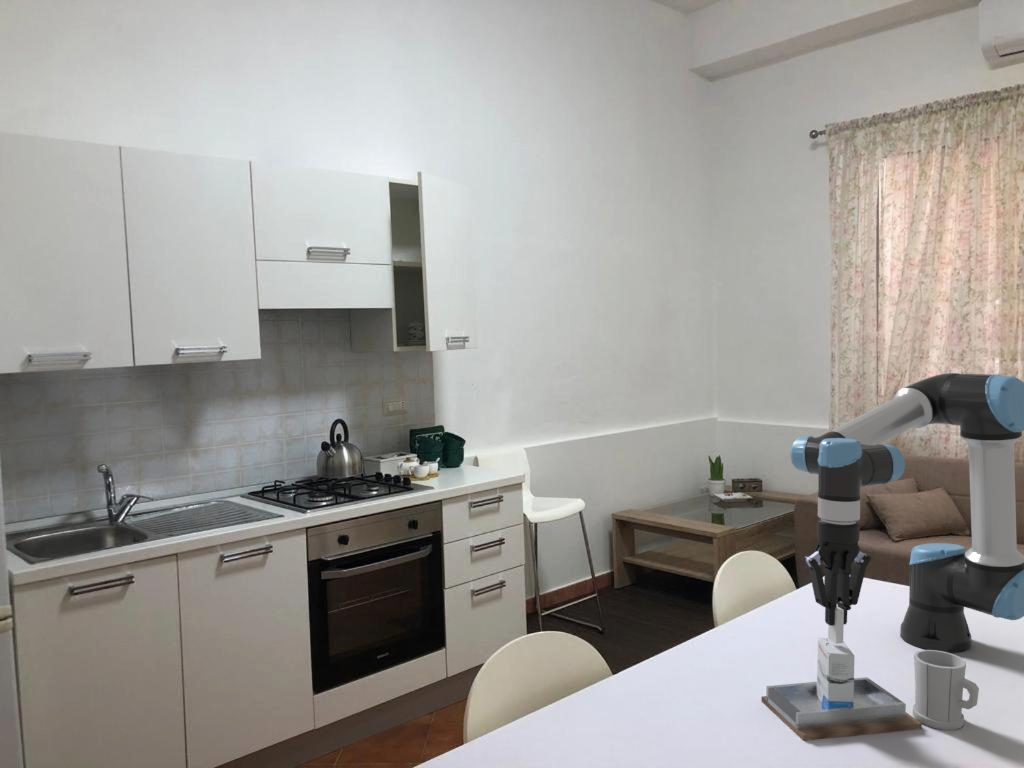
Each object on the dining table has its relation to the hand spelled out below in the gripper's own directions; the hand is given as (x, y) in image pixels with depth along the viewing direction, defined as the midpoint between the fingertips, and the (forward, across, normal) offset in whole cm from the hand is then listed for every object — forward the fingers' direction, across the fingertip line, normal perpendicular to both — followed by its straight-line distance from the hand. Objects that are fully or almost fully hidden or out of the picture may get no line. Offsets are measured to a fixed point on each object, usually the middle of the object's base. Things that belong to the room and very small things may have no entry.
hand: (835, 640), depth 158 cm
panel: (+15, -1, 0) cm, 15 cm away
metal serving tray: (+15, 0, 0) cm, 15 cm away
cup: (+15, -19, +6) cm, 25 cm away
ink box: (+13, 0, 0) cm, 13 cm away
